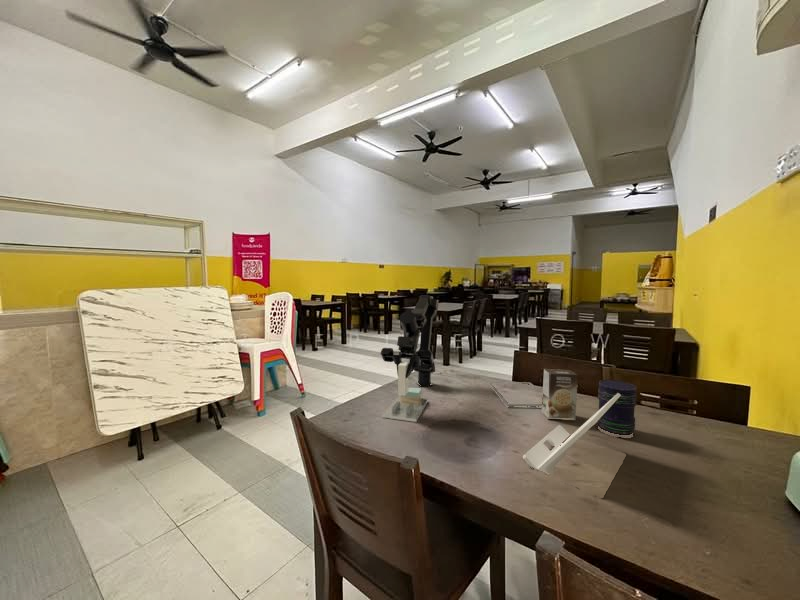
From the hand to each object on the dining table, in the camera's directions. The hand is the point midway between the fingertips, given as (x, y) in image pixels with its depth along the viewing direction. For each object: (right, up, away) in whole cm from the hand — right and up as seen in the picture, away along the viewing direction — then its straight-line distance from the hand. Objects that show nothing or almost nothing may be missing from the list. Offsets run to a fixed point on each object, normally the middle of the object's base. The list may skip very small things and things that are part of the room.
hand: (402, 377), depth 110 cm
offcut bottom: (+4, -12, +12) cm, 18 cm away
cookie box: (+54, -14, 0) cm, 56 cm away
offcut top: (+4, -10, +12) cm, 16 cm away
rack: (+2, -13, +6) cm, 15 cm away
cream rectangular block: (0, -6, +2) cm, 6 cm away
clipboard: (+49, -13, +23) cm, 55 cm away
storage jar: (+67, -15, -10) cm, 69 cm away
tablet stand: (+46, -16, -26) cm, 55 cm away
